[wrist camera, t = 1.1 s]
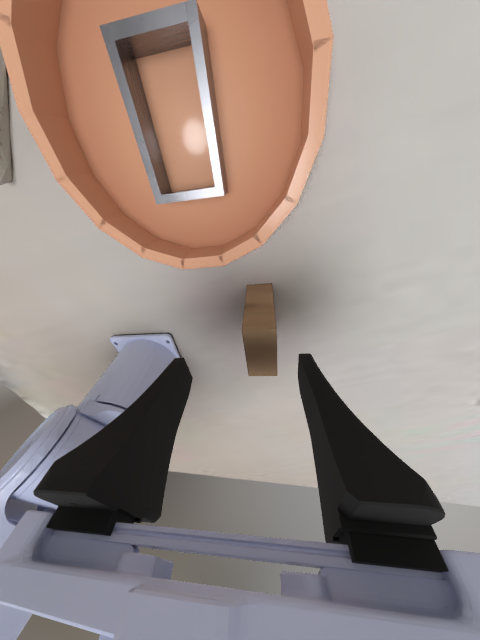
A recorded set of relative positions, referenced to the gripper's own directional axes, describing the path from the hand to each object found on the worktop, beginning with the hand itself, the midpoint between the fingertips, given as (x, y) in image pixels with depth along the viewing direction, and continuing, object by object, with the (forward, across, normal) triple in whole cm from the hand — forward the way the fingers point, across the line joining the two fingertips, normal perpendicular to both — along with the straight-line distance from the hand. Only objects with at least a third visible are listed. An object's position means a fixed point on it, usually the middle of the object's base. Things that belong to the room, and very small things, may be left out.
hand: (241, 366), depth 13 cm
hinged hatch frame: (+8, +3, -12) cm, 15 cm away
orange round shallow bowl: (+10, +3, -12) cm, 16 cm away
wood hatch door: (+10, -1, +2) cm, 10 cm away
